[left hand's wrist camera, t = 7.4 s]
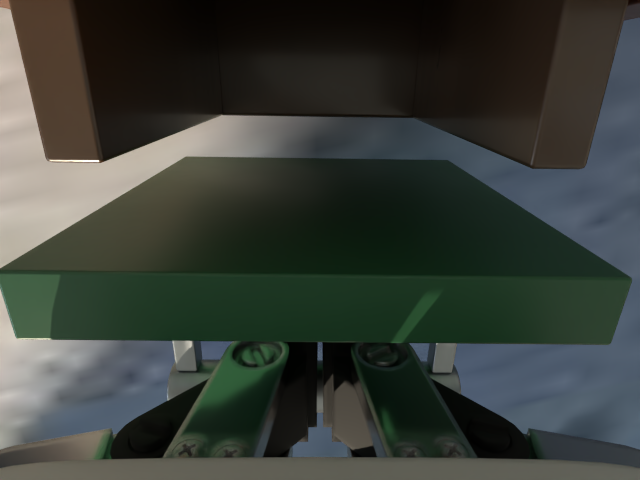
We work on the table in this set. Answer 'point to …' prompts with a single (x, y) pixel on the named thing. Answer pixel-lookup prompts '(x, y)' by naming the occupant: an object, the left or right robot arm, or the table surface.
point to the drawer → (316, 176)
